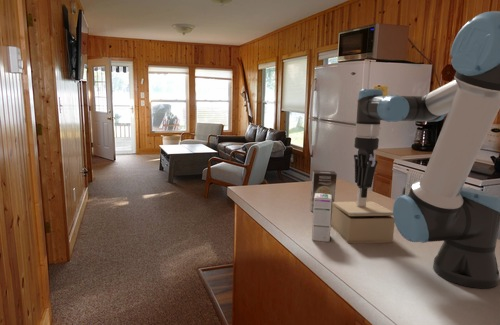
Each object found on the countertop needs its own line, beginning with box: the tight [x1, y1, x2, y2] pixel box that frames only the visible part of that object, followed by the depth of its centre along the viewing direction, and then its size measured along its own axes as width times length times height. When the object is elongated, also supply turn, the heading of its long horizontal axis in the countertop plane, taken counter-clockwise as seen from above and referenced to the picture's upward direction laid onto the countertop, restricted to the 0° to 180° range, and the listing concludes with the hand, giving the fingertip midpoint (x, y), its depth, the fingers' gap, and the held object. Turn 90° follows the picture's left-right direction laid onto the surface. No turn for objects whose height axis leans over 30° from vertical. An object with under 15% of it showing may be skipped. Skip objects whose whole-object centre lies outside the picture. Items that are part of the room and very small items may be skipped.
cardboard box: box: [331, 204, 395, 244], centre depth 123 cm, size 16×15×8 cm
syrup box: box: [311, 193, 332, 243], centre depth 117 cm, size 6×6×14 cm
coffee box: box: [309, 169, 338, 214], centre depth 147 cm, size 9×6×16 cm
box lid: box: [332, 200, 393, 217], centre depth 122 cm, size 16×15×1 cm
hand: (361, 205), depth 123 cm, fingers closed
